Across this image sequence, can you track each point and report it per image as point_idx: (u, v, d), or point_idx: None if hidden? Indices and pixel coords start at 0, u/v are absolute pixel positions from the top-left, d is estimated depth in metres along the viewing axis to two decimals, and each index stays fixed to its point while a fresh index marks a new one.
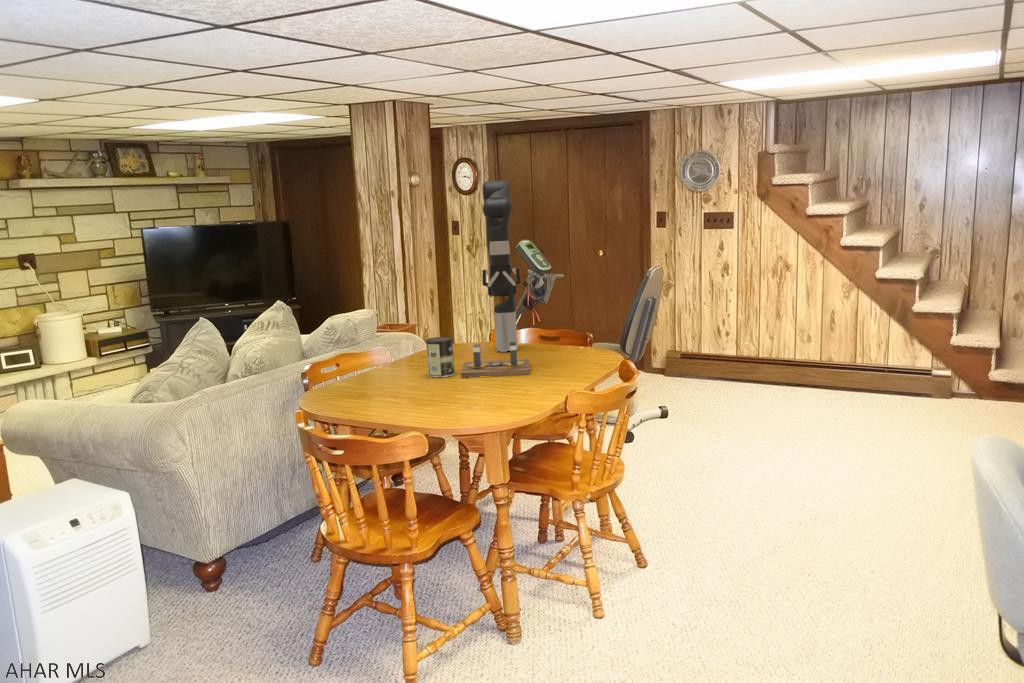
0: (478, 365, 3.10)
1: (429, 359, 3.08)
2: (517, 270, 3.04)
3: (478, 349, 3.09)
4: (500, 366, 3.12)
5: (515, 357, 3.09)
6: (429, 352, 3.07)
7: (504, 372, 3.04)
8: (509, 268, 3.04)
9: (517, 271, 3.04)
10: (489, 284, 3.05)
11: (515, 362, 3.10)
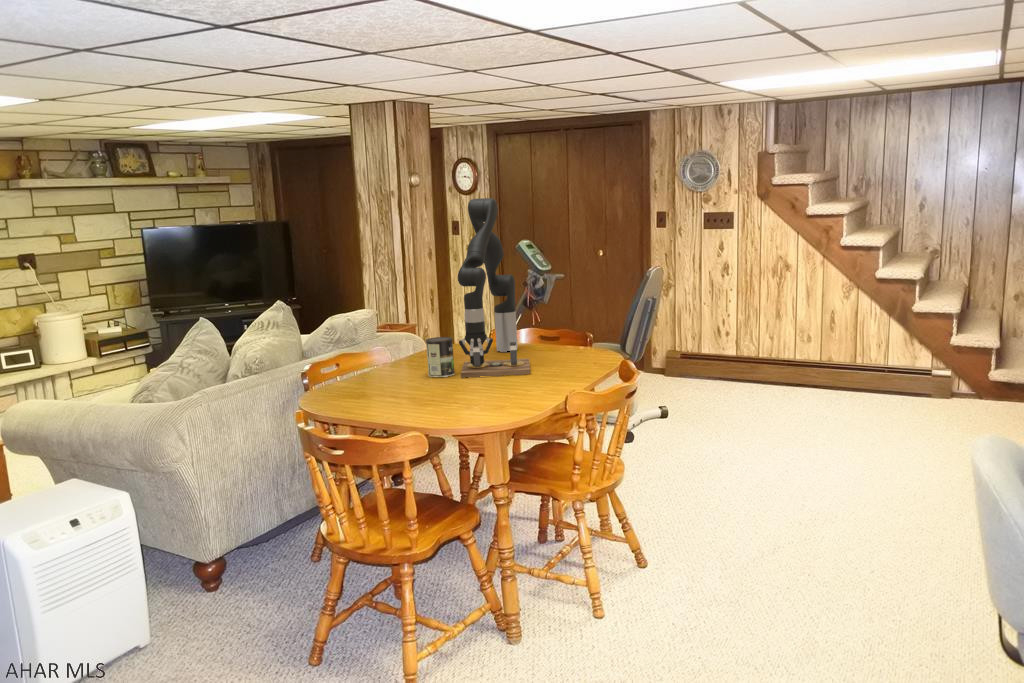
0: (478, 365, 3.10)
1: (429, 359, 3.08)
2: (490, 341, 3.09)
3: (478, 349, 3.09)
4: (500, 366, 3.12)
5: (515, 357, 3.09)
6: (429, 352, 3.07)
7: (504, 372, 3.04)
8: (485, 335, 3.08)
9: (490, 342, 3.09)
10: (471, 353, 3.09)
11: (515, 362, 3.10)
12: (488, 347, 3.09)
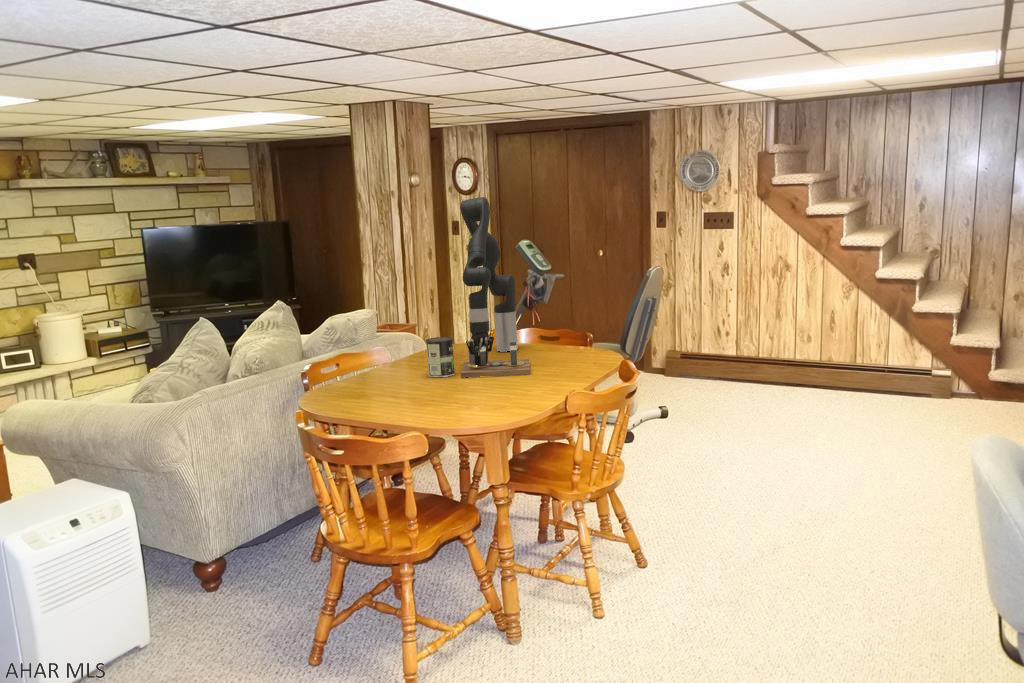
0: (484, 364, 3.11)
1: (429, 359, 3.08)
2: (492, 339, 3.14)
3: (484, 348, 3.10)
4: (500, 366, 3.12)
5: (515, 357, 3.09)
6: (429, 352, 3.07)
7: (504, 372, 3.04)
8: (488, 334, 3.12)
9: (492, 339, 3.14)
10: (479, 353, 3.09)
11: (515, 362, 3.10)
12: (491, 345, 3.14)
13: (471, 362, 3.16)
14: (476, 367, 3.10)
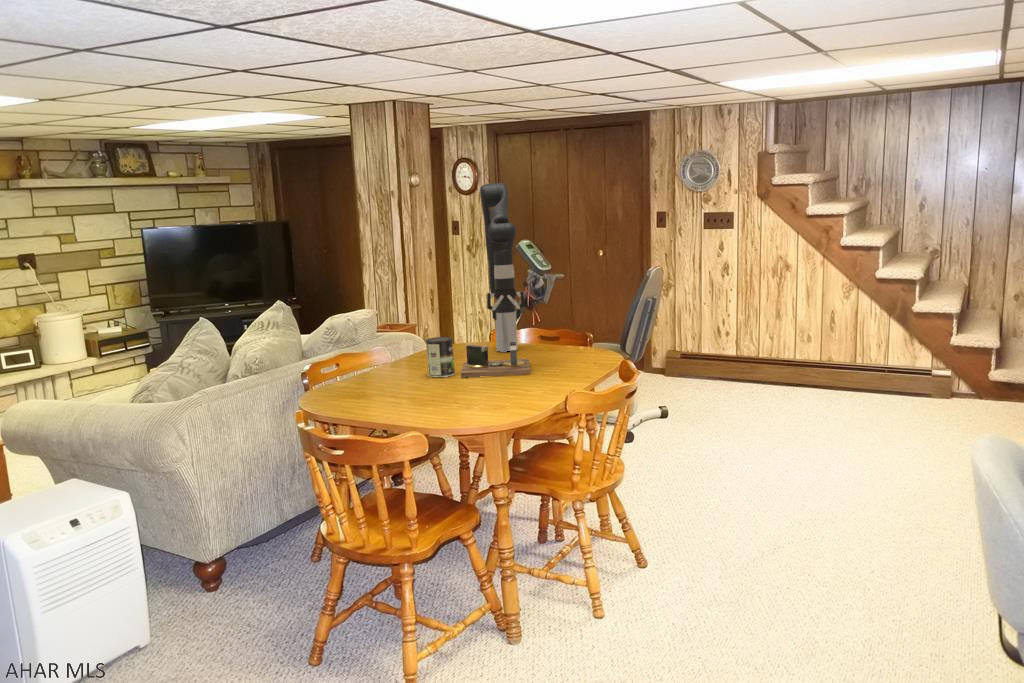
0: (487, 364, 3.12)
1: (429, 359, 3.08)
2: (521, 294, 3.05)
3: (487, 348, 3.11)
4: (500, 366, 3.12)
5: (515, 357, 3.09)
6: (429, 352, 3.07)
7: (504, 372, 3.04)
8: (514, 292, 3.05)
9: (521, 295, 3.05)
10: (494, 307, 3.06)
11: (515, 362, 3.10)
12: (522, 300, 3.06)
13: (470, 362, 3.15)
14: (479, 367, 3.11)
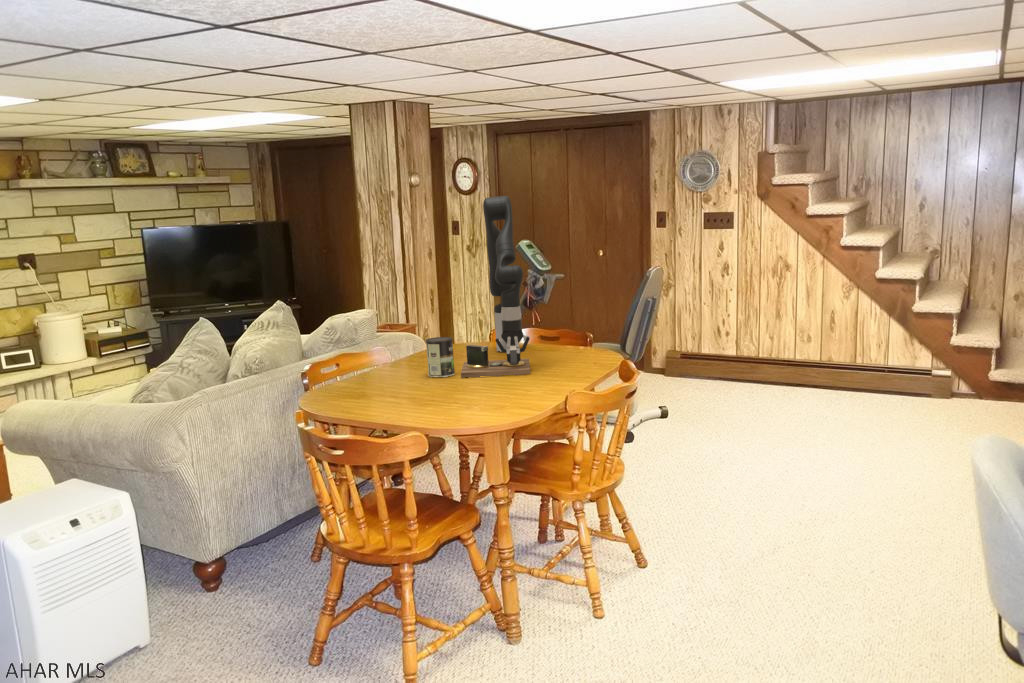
0: (487, 364, 3.12)
1: (429, 359, 3.08)
2: (527, 339, 3.08)
3: (487, 348, 3.11)
4: (500, 366, 3.12)
5: (515, 357, 3.09)
6: (429, 352, 3.07)
7: (504, 372, 3.04)
8: (521, 333, 3.08)
9: (527, 340, 3.08)
10: (508, 351, 3.09)
11: (515, 362, 3.10)
12: (525, 345, 3.09)
13: (470, 362, 3.15)
14: (479, 367, 3.11)
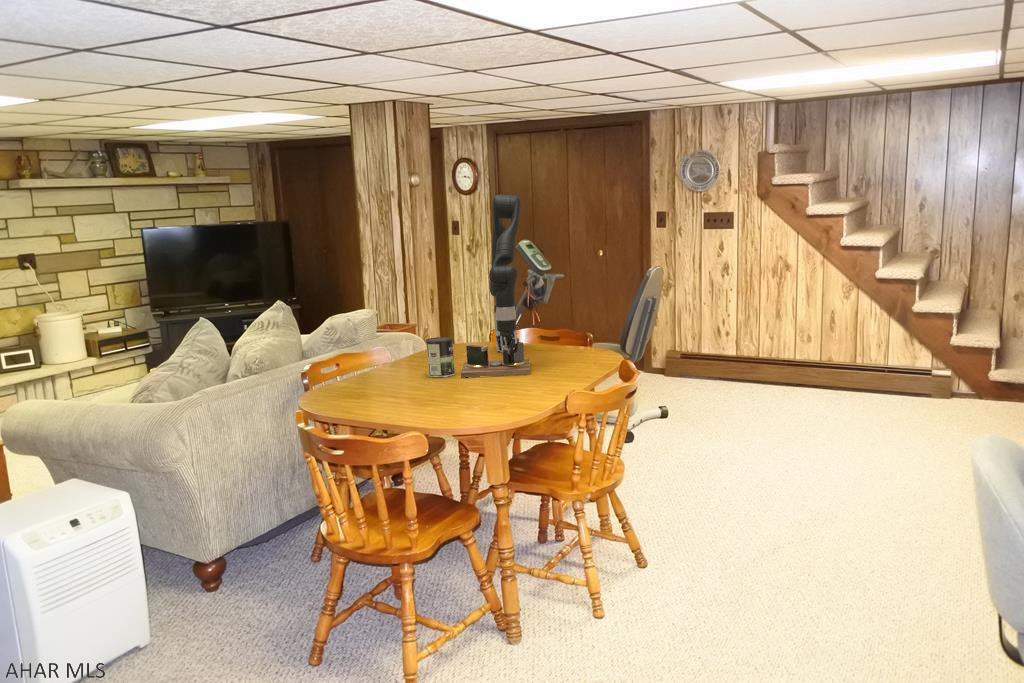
0: (487, 364, 3.12)
1: (429, 359, 3.08)
2: (512, 341, 3.05)
3: (487, 348, 3.11)
4: (500, 366, 3.12)
5: (507, 357, 3.10)
6: (429, 352, 3.07)
7: (504, 372, 3.04)
8: (509, 335, 3.07)
9: (512, 342, 3.05)
10: (502, 350, 3.13)
11: (507, 362, 3.10)
12: (511, 347, 3.06)
13: (470, 362, 3.15)
14: (479, 367, 3.11)
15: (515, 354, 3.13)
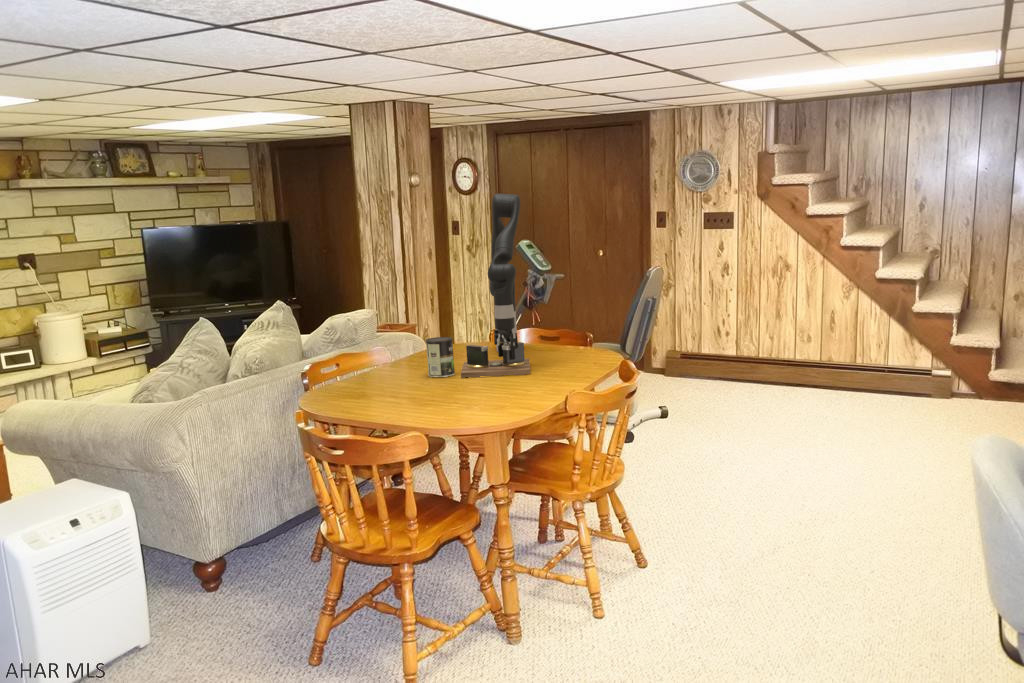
0: (487, 364, 3.12)
1: (429, 359, 3.08)
2: (510, 336, 3.05)
3: (487, 348, 3.11)
4: (500, 366, 3.12)
5: (506, 357, 3.10)
6: (429, 352, 3.07)
7: (504, 372, 3.04)
8: (507, 332, 3.07)
9: (510, 337, 3.05)
10: (497, 344, 3.15)
11: (506, 362, 3.11)
12: (511, 342, 3.05)
13: (470, 362, 3.15)
14: (479, 367, 3.11)
15: (515, 354, 3.13)
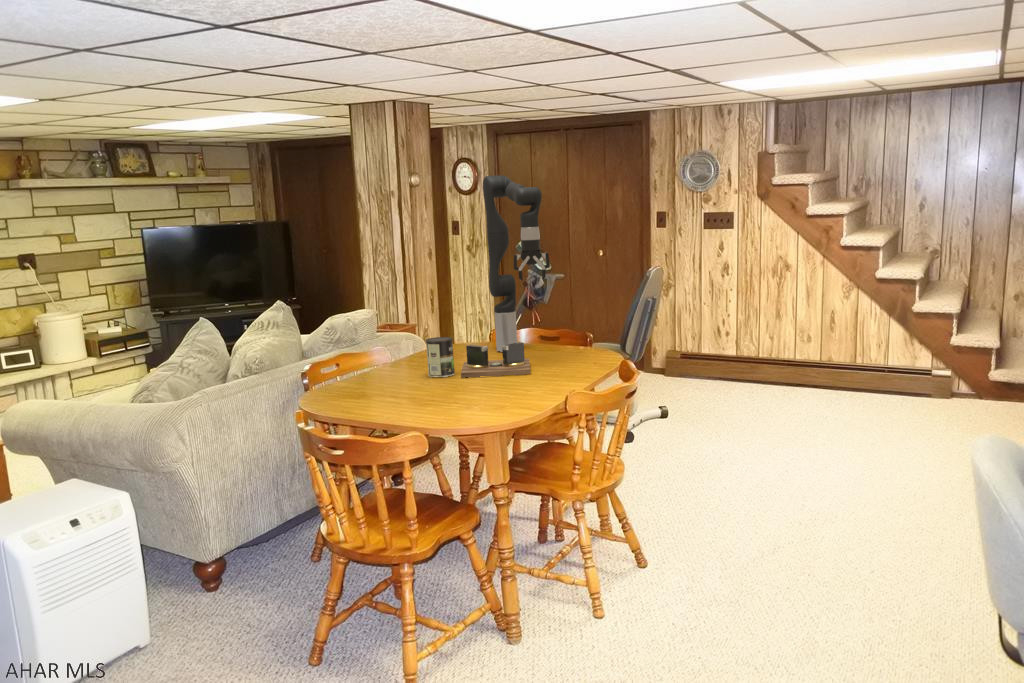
0: (487, 364, 3.12)
1: (429, 359, 3.08)
2: (547, 255, 3.20)
3: (487, 348, 3.11)
4: (500, 366, 3.12)
5: (506, 357, 3.10)
6: (429, 352, 3.07)
7: (504, 372, 3.04)
8: (539, 253, 3.20)
9: (547, 256, 3.20)
10: (520, 268, 3.21)
11: (506, 362, 3.11)
12: (547, 261, 3.20)
13: (470, 362, 3.15)
14: (479, 367, 3.11)
15: (515, 354, 3.13)
